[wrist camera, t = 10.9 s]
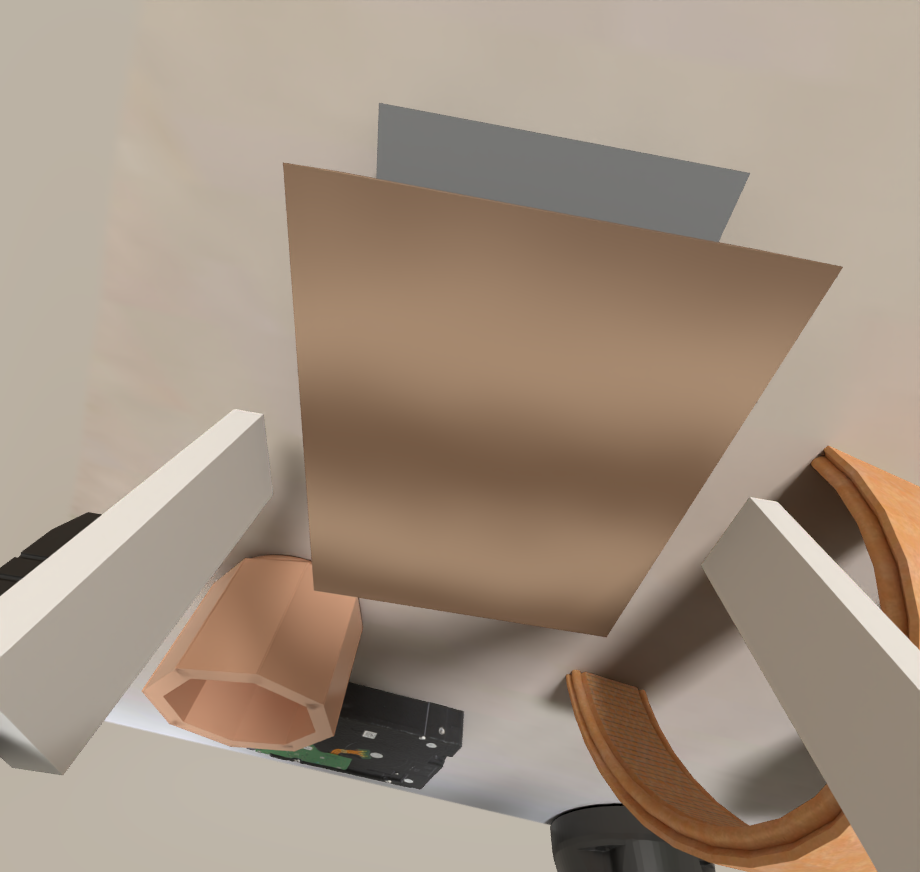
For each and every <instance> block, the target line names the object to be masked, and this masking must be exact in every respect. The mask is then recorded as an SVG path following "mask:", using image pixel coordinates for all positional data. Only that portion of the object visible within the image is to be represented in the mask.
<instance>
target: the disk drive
mask: <svg viewBox="0 0 920 872" xmlns="http://www.w3.org/2000/svg"><path fill="white" fill-rule="evenodd" d="M463 719H464V711H461V710H456V709H453V708H448V707H446V706H442V705H438V704H435V703H430V702H425V701H421V700H417V699H413V698H409V697H405V696H401V695H397V694H393V693H389V692H385V691H381V690H377V689H373V688H369V687H365V686H361V685H358V684H353V683H350V682H348V685H347V689H346V693H345V696H344V700H343V704H342V708H341V711H340V715H339V719H338V723H337V726H336V730H335V734H334V736H333V737H330V738H327V739H325V740H322V741H320V742H317V743H315V744H312V745H309V746H307V747H304V748H302V749H299V750H297V751H282V750H269V749H256V748H247V749H250V750H255V752H259V753H265V754H270V756H271V757H275V758H278V759H283V760H290V761H292V762H293V761H297V762H300V763H302V764H307V765H311V766H316V767H321V768H325V769H330V770H334V771H337V772H342V773H348V774H352V775H355V776H360V777H365V778H369V779H374V780H378V781H383V782H388V783H391V784H395V785H400V786H404V787H409V788H417V789H422V788H423V787H424V786H425V784H426V783H427V782H428V781H429V780H430V779H431V778H432V777H433V776H434V775H435V774H436V773H437V772H438V771H439V770H440V769H441V768H442V767H443V764H444V762H445V759H446V756H449V757H453V755H454V754H455V753H456V752H457V751H458V750H459V749H460V748H461V747H462V737H463Z"/></svg>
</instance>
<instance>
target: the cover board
mask: <svg viewBox="0 0 920 872" xmlns="http://www.w3.org/2000/svg"><path fill="white" fill-rule="evenodd" d="M283 169H284V183H285V197H286V211H287V225H288V238H289V252H290V266H291V280H292V294H293V308H294V322H295V336H296V350H297V364H298V377H299V391H300V405H301V419H302V433H303V447H304V461H305V475H306V489H307V503H308V516H309V530H310V544H311V558H312V572H313V586H314V591H320V592H326V593H333V594H339V595H345V596H351V597H358V598H364V599H370V600H377V601H383V602H389V603H395V604H402V605H408V606H414V607H420V608H427V609H433V610H439V611H446V612H452V613H458V614H464V615H471V616H477V617H483V618H489V619H496V620H502V621H508V622H514V623H521V624H527V625H533V626H540V627H546V628H552V629H558V630H565V631H571V632H577V633H583V634H590V635H596V636H602V637H607V635H608V634H609V632H610V631H611V629H612V628H613V626H614V625H615V623H616V621H617V620H618V618H619V617H620V615H621V614H622V612H623V610H624V609H625V607H626V606H627V604H628V603H629V601H630V599H631V598H632V596H633V595H634V593H635V592H636V590H637V589H638V587H639V585H640V584H641V582H642V581H643V579H644V578H645V576H646V574H647V573H648V571H649V570H650V568H651V567H652V565H653V563H654V562H655V560H656V559H657V557H658V556H659V554H660V553H661V551H662V549H663V548H664V546H665V545H666V543H667V542H668V540H669V538H670V537H671V535H672V534H673V532H674V531H675V529H676V527H677V526H678V524H679V523H680V521H681V520H682V518H683V517H684V515H685V513H686V512H687V510H688V509H689V507H690V506H691V504H692V502H693V501H694V499H695V498H696V496H697V495H698V493H699V491H700V490H701V488H702V487H703V485H704V484H705V482H706V481H707V479H708V477H709V476H710V474H711V473H712V471H713V470H714V468H715V466H716V465H717V463H718V462H719V460H720V459H721V457H722V455H723V454H724V452H725V451H726V449H727V448H728V446H729V445H730V443H731V441H732V440H733V438H734V437H735V435H736V434H737V432H738V430H739V429H740V427H741V426H742V424H743V423H744V421H745V419H746V418H747V416H748V415H749V413H750V412H751V410H752V409H753V407H754V405H755V404H756V402H757V401H758V399H759V398H760V396H761V394H762V393H763V391H764V390H765V388H766V387H767V385H768V383H769V382H770V380H771V379H772V377H773V376H774V374H775V373H776V371H777V369H778V368H779V366H780V365H781V363H782V362H783V360H784V358H785V357H786V355H787V354H788V352H789V351H790V349H791V347H792V346H793V344H794V343H795V341H796V340H797V338H798V337H799V335H800V333H801V332H802V330H803V329H804V327H805V326H806V324H807V322H808V321H809V319H810V318H811V316H812V315H813V313H814V311H815V310H816V308H817V307H818V305H819V304H820V302H821V301H822V299H823V297H824V296H825V294H826V293H827V291H828V290H829V288H830V286H831V285H832V283H833V282H834V280H835V279H836V277H837V275H838V274H839V272H840V271H841V269H842V268H843V267H841V266H836V265H831V264H826V263H821V262H816V261H811V260H806V259H801V258H797V257H792V256H787V255H782V254H777V253H772V252H767V251H762V250H757V249H752V248H747V247H741V246H736V245H731V244H725V243H720V242H715V241H709V240H704V239H698V238H693V237H688V236H682V235H677V234H672V233H666V232H661V231H656V230H650V229H645V228H639V227H634V226H629V225H623V224H618V223H613V222H607V221H602V220H597V219H591V218H586V217H580V216H575V215H570V214H564V213H559V212H554V211H548V210H543V209H538V208H532V207H527V206H521V205H516V204H511V203H505V202H500V201H495V200H489V199H484V198H479V197H473V196H468V195H462V194H457V193H452V192H446V191H441V190H436V189H430V188H425V187H420V186H414V185H409V184H403V183H398V182H393V181H387V180H382V179H377V178H371V177H366V176H361V175H355V174H350V173H344V172H339V171H333V170H327V169H320V168H314V167H308V166H301V165H295V164H289V163H283Z"/></svg>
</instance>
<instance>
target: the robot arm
mask: <svg viewBox="0 0 920 872" xmlns="http://www.w3.org/2000/svg"><path fill="white" fill-rule="evenodd" d="M272 496H273V487H272V479H271V471H270V463H269V455H268V447H267V439H266V431H265V423H264V415H263V414H261V413H255V412H249V411H243V410H237V409H234V410H232V411H231V412H230V413H229V414H227V415H226V416H225V417H224V418H222V419H221V420H220V421H219V422H217V423H216V424H215V425H214V426H212V427H211V428H210V429H209V430H207V431H206V432H205V433H204V434H202V435H201V436H200V437H199V438H197V439H196V440H195V441H194V442H192V443H191V444H190V445H189V446H187V447H186V448H185V449H184V450H182V451H181V452H180V453H179V454H177V455H176V456H175V457H174V458H172V459H171V460H170V461H169V462H167V463H166V464H165V465H164V466H162V467H161V468H160V469H159V470H157V471H156V472H155V473H154V474H152V475H151V476H150V477H149V478H147V479H146V480H145V481H144V482H142V483H141V484H140V485H139V486H137V487H136V488H135V489H134V490H132V491H131V492H130V493H129V494H127V495H126V496H125V497H124V498H122V499H121V500H120V501H119V502H117V503H116V504H115V505H114V506H112V507H111V508H110V509H109V510H107V511H106V512H105V513H104V514H96V513H90V512H88V513H85V514H83V515H81V516H79V517H77V518H75V519H73V520H71V521H69V522H67V523H64V524H62V525H61V526H58V527H56V528H54V529H52V530H51V531H49V532H48V533H46V534H45V535H44V536H42V537H41V538H40V539H38V540H37V541H36V542H34V543H33V544H32V545H30V546H29V547H28V548H26V549H25V550H24V551H23V552H21V555H20V556H19V557H18V558H16V557H14V558H13V559H11V560H10V561H9V562H7V563H6V564H5V565H3V566H2V567H1V568H0V757H1V758H2V759H3V760H4V761H5V762H6V763H8V764H9V765H10V766H11V767H12V768H18V769H24V770H31V771H38V772H45V773H51V774H58V775H64V773H65V772H66V771H67V769H68V768H69V767H70V765H71V764H72V763H73V761H74V760H75V759H76V757H77V756H78V755H79V753H80V752H81V751H82V749H83V748H84V747H85V745H86V744H87V743H88V741H89V740H90V738H91V737H92V736H93V735H94V733H95V732H96V731H97V729H98V728H99V727H100V725H101V724H102V723H103V721H104V720H105V719H106V717H107V716H108V715H109V713H110V712H111V711H112V709H113V708H114V707H115V705H116V704H117V703H118V701H119V700H120V699H121V697H122V696H123V695H124V693H125V692H126V691H127V689H128V688H129V687H130V685H131V684H132V683H133V681H134V680H135V679H136V677H137V676H138V675H139V673H140V672H141V671H142V669H143V668H144V667H145V665H146V664H147V663H148V661H149V660H150V659H151V657H152V656H153V655H154V653H155V652H156V651H157V649H158V648H159V646H160V645H161V644H162V642H163V641H164V640H165V638H166V637H167V636H168V634H169V633H170V632H171V630H172V629H173V628H174V626H175V625H176V624H177V622H178V621H179V620H180V618H181V617H182V616H183V614H184V613H185V612H186V610H187V609H188V608H189V606H190V605H191V604H192V602H193V601H194V600H195V598H196V597H197V596H198V594H199V593H200V592H201V590H202V589H203V588H204V586H205V585H206V584H207V582H208V581H209V580H210V578H211V577H212V576H213V574H214V573H215V572H216V570H217V569H218V568H219V566H220V565H221V564H222V562H223V561H224V560H225V558H226V557H227V556H228V554H229V553H230V552H231V550H232V549H233V548H234V546H235V545H236V544H237V542H238V541H239V540H240V538H241V537H242V536H243V534H244V533H245V532H246V530H247V529H248V528H249V526H250V525H251V524H252V522H253V521H254V520H255V518H256V517H257V516H258V514H259V513H260V512H261V510H262V509H263V508H264V506H265V505H266V504H267V502H268V501H269V500H270V498H271V497H272ZM701 567H702V568H703V570H704V572H705V574H706V575H707V577H708V579H709V581H710V582H711V584H712V586H713V587H714V589H715V591H716V593H717V594H718V596H719V598H720V600H721V601H722V603H723V605H724V607H725V608H726V610H727V612H728V613H729V615H730V617H731V619H732V620H733V622H734V624H735V626H736V627H737V629H738V631H739V632H740V634H741V636H742V638H743V639H744V641H745V643H746V645H747V646H748V648H749V650H750V652H751V653H752V655H753V657H754V658H755V660H756V662H757V664H758V665H759V667H760V669H761V671H762V672H763V674H764V676H765V678H766V679H767V681H768V683H769V684H770V686H771V688H772V690H773V691H774V693H775V695H776V697H777V698H778V700H779V702H780V703H781V705H782V707H783V709H784V710H785V712H786V714H787V716H788V717H789V719H790V721H791V723H792V724H793V726H794V728H795V729H796V731H797V733H798V735H799V736H800V738H801V740H802V742H803V743H804V745H805V747H806V748H807V750H808V752H809V754H810V755H811V757H812V759H813V761H814V762H815V764H816V766H817V768H818V769H819V771H820V773H821V774H822V776H823V778H824V780H825V781H826V783H827V785H828V787H829V788H830V790H831V792H832V794H833V795H834V797H835V799H836V800H837V802H838V804H839V806H840V807H841V809H842V811H843V813H844V814H845V816H846V818H847V819H848V821H849V823H850V825H851V826H852V828H853V830H854V832H855V833H856V835H857V837H858V839H859V840H860V842H861V844H862V845H863V847H864V849H865V851H866V852H867V854H868V856H869V858H870V859H871V861H872V863H873V864H874V866H875V868H876V870H877V871H878V872H920V650H919V649H918V648H917V647H916V646H915V645H914V644H913V643H912V642H911V641H910V640H909V639H908V638H907V637H906V636H905V635H904V633H903V632H902V631H901V630H900V629H899V628H898V627H897V626H896V625H895V624H894V623H893V622H892V621H891V620H890V619H889V618H888V617H887V616H886V615H885V614H884V613H883V612H882V610H881V609H880V608H879V607H878V606H877V605H876V604H875V603H874V602H873V601H872V600H871V599H870V598H869V597H868V596H867V595H866V594H865V593H864V592H863V591H862V590H861V589H860V588H859V586H858V585H857V584H856V583H855V582H854V581H853V580H852V579H851V578H850V577H849V576H848V575H847V574H846V573H845V572H844V571H843V570H842V569H841V568H840V567H839V566H838V565H837V563H836V562H835V561H834V560H833V559H832V558H831V557H830V556H829V555H828V554H827V553H826V552H825V551H824V550H823V549H822V548H821V547H820V546H819V545H818V544H817V543H816V542H815V541H814V539H813V538H812V537H811V536H810V535H809V534H808V533H807V532H806V531H805V530H804V529H803V528H802V527H801V526H800V525H799V524H798V523H797V522H796V521H795V520H794V519H793V518H792V516H791V515H790V514H789V513H788V512H787V511H786V510H785V509H784V508H783V507H782V506H781V505H780V504H779V503H778V502H776V501H770V500H765V499H759V498H753V497H749V499H748V500H747V502H746V503H745V504H744V506H743V507H742V508H741V510H740V511H739V513H738V514H737V515H736V517H735V518H734V520H733V521H732V522H731V524H730V525H729V527H728V528H727V529H726V531H725V532H724V534H723V535H722V536H721V538H720V539H719V541H718V542H717V543H716V545H715V546H714V548H713V549H712V550H711V552H710V553H709V555H708V556H707V557H706V559H705V560H704V562H703V563H702V564H701ZM550 830H551V841H552V852H553V857H554V861H555V865H556V868H557V871H558V872H715V864H713V863H710V862H707V861H705V860H702V859H700V858H698V857H695V856H693V855H690V854H688V853H686V852H683V851H681V850H679V849H676V848H674V847H672V846H671V845H670V844H668V843H667V842H666V841H664V840H663V839H661V838H660V837H659V836H657V835H656V834H654V833H653V832H652V831H650V830H649V829H647V828H646V827H645V826H643V825H642V824H641V823H640V821H639V820H638V819H637V818H636V817H635V816H634V815H633V814H632V813H631V812H630V811H629V810H628V809H627V808H626V807H625V806H606V807H595V808H588V809H582V810H578V811H574V812H570V813H567V814H565V815H562V816H560V817H559V818H557V819H556V820H554V821H553V822H552V824H551V826H550Z"/></svg>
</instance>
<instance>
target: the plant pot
mask: <svg viewBox="0 0 920 872" xmlns="http://www.w3.org/2000/svg"><path fill="white" fill-rule="evenodd" d="M362 629H363V626H362V620H361V614H360V608H359V601H358V597H351V596H345V595H339V594H333V593H326V592H320V591H314V586H313V572H312V561H309V560H305V559H302V558H297V557H292V556H284V555H264V556H258V557H254V558H251V559H250V558H244V560H242V561H241V562H240V563H239V564H237V565H236V566H235V567H234V568H232V569H231V570H230V571H229V572H228V573H226V574H225V575H224V576H223V577H221V578H220V579H219V580H218V581H216V582H215V583H214V584H213V585H212V587H211V588H210V590H209V591H208V593H207V594H206V596H205V597H204V599H203V600H202V602H201V603H200V605H199V606H198V608H197V609H196V611H195V612H194V614H193V615H192V617H191V618H190V620H189V621H188V623H187V624H186V625H185V627H184V628H183V630H182V631H181V633H180V634H179V636H178V637H177V639H176V640H175V642H174V643H173V645H172V646H171V648H170V649H169V651H168V652H167V654H166V655H165V657H164V658H163V660H162V661H161V663H160V664H159V666H158V667H157V669H156V670H155V672H154V673H153V675H152V676H151V678H150V679H149V681H148V682H147V684H146V685H145V687H144V688H143V690H142V692H143V693H144V694H145V696H146V697H147V698H148V699H149V700H150V701H151V703H152V704H153V705H154V706H155V707H156V709H157V710H158V711H159V712H160V713H161V714H162V716H163V717H164V718H165V719H166V720H167V721H168V723H169V724H171V725H174V726H177V727H179V728H182V729H185V730H187V731H190V732H193V733H195V734H198V735H201V736H204V737H206V738H209V739H212V740H214V741H217V742H220V743H222V744H225V745H228V746H230V747H243V748H256V749H269V750H282V751H297V750H299V749H302V748H304V747H307V746H309V745H312V744H315V743H317V742H320V741H322V740H325V739H327V738H330V737H333V736H334V734H335V730H336V726H337V723H338V719H339V715H340V711H341V708H342V704H343V700H344V696H345V693H346V689H347V685H348V681H349V678H350V674H351V670H352V666H353V663H354V659H355V655H356V651H357V648H358V644H359V640H360V636H361V633H362Z"/></svg>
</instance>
